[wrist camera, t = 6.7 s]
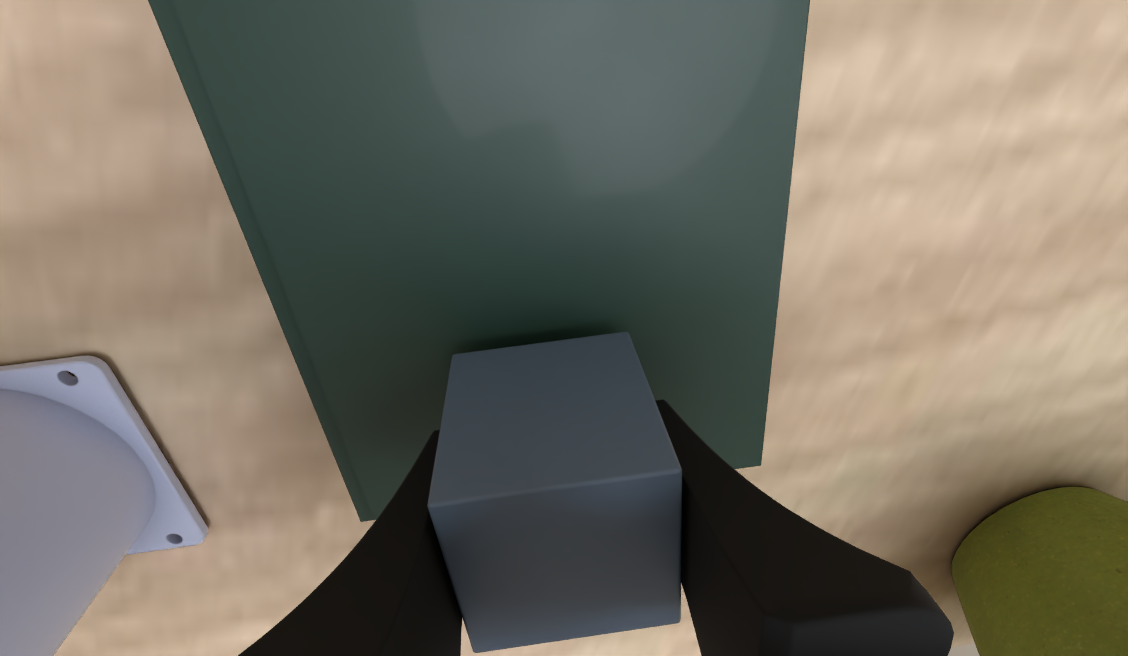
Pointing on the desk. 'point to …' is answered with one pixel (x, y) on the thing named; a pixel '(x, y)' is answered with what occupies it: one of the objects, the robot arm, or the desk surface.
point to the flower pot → (1048, 576)
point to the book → (504, 194)
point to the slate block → (557, 494)
